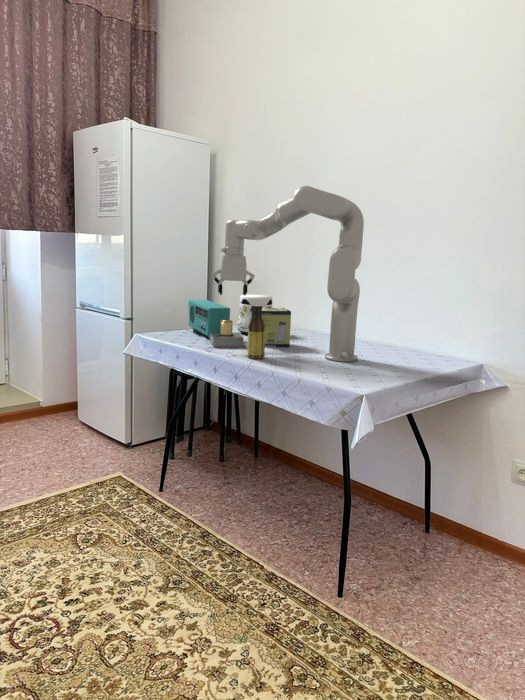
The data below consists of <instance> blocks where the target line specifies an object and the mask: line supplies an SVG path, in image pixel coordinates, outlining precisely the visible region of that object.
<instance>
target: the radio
mask: <svg viewBox="0 0 525 700" xmlns="http://www.w3.org/2000/svg"><path fill="white" fill-rule="evenodd" d="M230 317H231V308H230V307H228V306H224V305H222V304H220V303H217V302H213V301H211V300H208V299H189V300H188V325H189V327H191V329H192V332H193V333H201V334H203V335H205V336H207V337H208V340H210V333H221V320H231V318H230Z"/></svg>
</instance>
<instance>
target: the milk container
mask: <svg viewBox="0 0 525 700" xmlns="http://www.w3.org/2000/svg"><path fill="white" fill-rule="evenodd" d="M251 305H262V308H273V296H271V295H266V294H246V296H244V295H243V294H241V295H240V297H239V315H238V317H237V320H236V321H237V322H236V323H237V324H236V325H237V330H238V331H239V333H242V334H247V335H248V326H249V323H250V308H251Z"/></svg>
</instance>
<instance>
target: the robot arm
mask: <svg viewBox="0 0 525 700" xmlns="http://www.w3.org/2000/svg"><path fill="white" fill-rule="evenodd" d="M310 214H314V215H317V216H320V217H323V218H327V219H330V220H332V221H337V222H339V223H340V231H339V237H338V238H339V239H338V247H336V248H334V250H332V253H331V255H330V258H329V264H328V265H329V266H328V274H327V275H328V277H327V287H326V288H327V294H328V296H329V298H330V299H331V300H332V307H331V318H330V332H329V349H328V352H327V353H325V354H324V358H325V359H326V360H329V361H333V362H355V361H358V359H359V356H358V355H356V354H355V347H356V334H357V332H356V331H357V319H358V308H359V306H358V305H359V300H360V294H361V293H360V292H361V289H360V288H361V287H360V283H359V282H358V280H357V279H356V277H355V276H356V270H358V268H359V267H360V265H361V262H362V253H363V252H362V250H363V239H364V238H363V237H364V228H365V225H364V224H365V223H364V221H365V220H364V215H363V213H362V211H361V208H360V207H359V206H358V205H356V203H355V202H353V201H352V200H350V199H348V198H346V197H343V196H341V195H338V194H335V193H332V192H328V191H325V190H321V189H318V188H317V187H316V188H315V187H312V186H310V185H303V186H300V187H299V188H297V189H296V190H295V192H294V195H293V196H291V197H289V198H288V199H285V200H283V201H281V202H279V204H277V205H276V209H275V211H273V212H272V213H271V214H269V215H268V216H266V217H264V218H262V219H260V220H255V219H253V220H252V219H246V220H237V219H236V220H234V219H233V220H232V219H229V220H227V221H226V223H225V236H224V237H225V240H224V248H221V249H220V252H221V253H223V255H222V259H221V264H220V269H218V270H216V271H214V272H211V276H212V279H214V281H215V282H216V284H217V285H218V286H217V288H218V289H217V292H218V294H219V295H220V296H222V295H223V282H225V281H232V282H233V281H235V282H242V283H243V285H242V295H244V296H246V295H247V294H248V287H249V285H250V284H251V283H252V282H253V280H254V278H255V276H256V275H255V274H254V273H252V272H250V271H248V270H247V258H246V257H247V256H246V255H244V254H245V253H244V252H245V251H244V249H245V248H244V247H245V240H249V241H262V240H265V239H267V238H269V237H270V236H273V235H275V234H277V233H279V232H280V231H282V230H283V229H285V228H286V227H288V225H291V224H292V223H294V222H296V221H298V220H300V219H302V218H304V217H306V216H308V215H310ZM219 274H220V279H218V277H217V275H219ZM247 275H248V276H249V278H248V279H247Z"/></svg>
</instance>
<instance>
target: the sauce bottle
mask: <svg viewBox="0 0 525 700" xmlns="http://www.w3.org/2000/svg"><path fill="white" fill-rule="evenodd" d="M251 309H252V315H251V320H250V323H249V326H248V334H247V357H248V358H249V359H252V360H262V359H264V358H265V353H266V352H265V350H266V349H265V348H266V345H265V324H264V321H263V319H262V305H251Z"/></svg>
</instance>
